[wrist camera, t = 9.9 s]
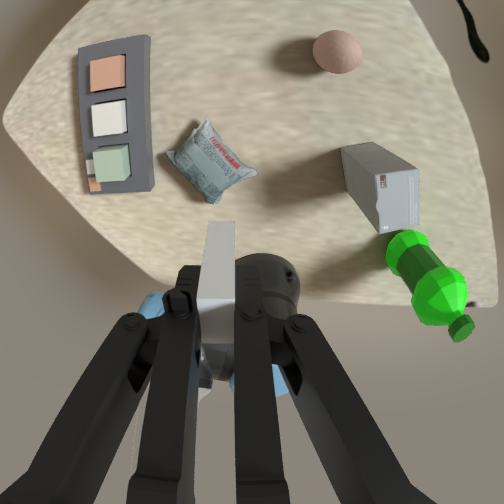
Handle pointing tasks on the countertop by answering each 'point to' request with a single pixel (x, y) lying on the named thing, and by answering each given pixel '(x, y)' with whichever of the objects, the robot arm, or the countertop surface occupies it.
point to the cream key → (109, 118)
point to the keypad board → (136, 113)
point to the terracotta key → (108, 73)
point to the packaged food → (209, 163)
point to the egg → (337, 51)
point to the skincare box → (382, 186)
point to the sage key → (112, 163)
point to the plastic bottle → (430, 284)
